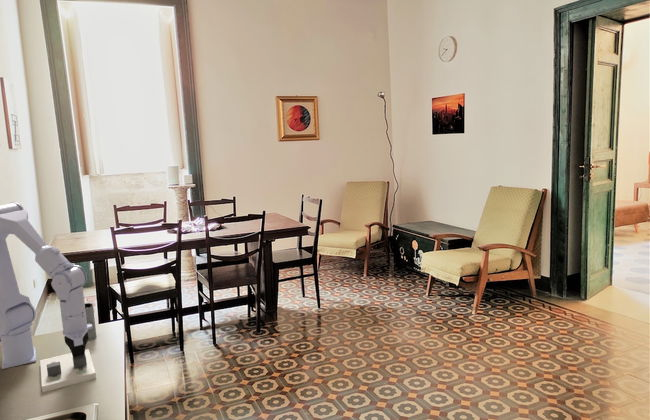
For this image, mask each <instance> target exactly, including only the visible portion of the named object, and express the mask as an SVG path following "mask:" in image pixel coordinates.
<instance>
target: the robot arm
mask: <svg viewBox="0 0 650 420" xmlns="http://www.w3.org/2000/svg"><path fill="white" fill-rule="evenodd" d="M9 235H14V236H15V237H16V238H18V239H19V240H20V242H22V243H23V244H24V245H25V246H26V247H27V248H28V249H29V250H30V251H32V252H33V253H34V256H35V258H34V261H35V262H36V263H37V264H38V266H40V268H41V269H42V270H43V271H44V272H45V273H46V274H47V276H48V277H49V278H50V279H52V281H51V282H50V284H51V287H52V289H53V290H54V292H55V294H56V298H57V300H59V308H60V317H61V324H62V330H61V332H62V335H63V339H64V343H65V344H66V346H67V347H68V349H69V350H70V353H72V355H73V357H75V356H79V355H83V354H85V350H86V347H87V343H88V341H89V340H88V339H89V336H88V332H87V331H88V330H89V329H92V324H87V319H86V311H85V303H86V302H85V296H84V295H85V294H84V285H85V284H86V283H87V280H88V275H87V273H86V271H85V269H84V267H82V266H81V265H78V264H75V263H74V262H70V260H68V259H67V257H65V256H64V254H63V253H62V252H61V251H60V250H59V248H58V247H56V246H55V245H54V246H53V245H49V244H47V243H46V242H45V241H44V239H43V237H42V236H41V235H40V234H39V233H38V231H37V230H36V229H35V228H34V226H33V225H32V224H31V222H30V221H29V214H28V212H27V210H25V209H24V207H23V206H22V205H21V204H20V203H19V202H15V201H12V202H9V203H5V204H0V345H1V351H2V360H1V362H2V363H1V369H3V370H5V369H8V368H12V367H13V368H14V367H17V366H21V365H25V364H26V365H27V364H31V363H33V362H36V361H37V351H36V350H37V348H36V347H35V346H34V345H33V337H32V328H31V327H32V326H33V321H35V320H36V316H37V315H36V309H35V306H34V305H33V303H32V302H31V300H30V297H29V296H27V295H24V294H22V293H20V290H19V285H18V282H17V278H16V274H15V270H14V266H13V263H12V258H11V255H10V252H9V247H8V243H7V238H8V236H9Z"/></svg>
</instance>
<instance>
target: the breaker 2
mask: <svg viewBox="0 0 650 420" xmlns="http://www.w3.org/2000/svg"><path fill="white" fill-rule="evenodd" d="M73 365H74V369H75V368H79V367H83V366H87V362H86V356H85V354H83V355H79V356H75V357H73Z"/></svg>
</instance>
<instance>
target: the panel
mask: <svg viewBox="0 0 650 420" xmlns="http://www.w3.org/2000/svg"><path fill="white" fill-rule="evenodd" d="M89 349H90V348H87V349H86V348H85V356H86V362H87V366H83V367H79V368H75V369H74V365H73V355H72V352H69V353H65V354H61V355H57V356H53V357H49V358H44V359H40V360H39V362H40V363H39V364H40V379H41V390H42V393H45V392H49V391H52V390H56V389H60V388H64V387H68V386H72V385H75V384H80V383H83V382H87V381H90V380H94V379H97V375H96V370H95V366H94V362H93V359H92V356H91V355H92V354H91V353H90V350H89ZM56 362H60V366H61V374H57V375H53V376H49V377H48V373H47V364H52V363H56Z"/></svg>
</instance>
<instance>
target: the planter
mask: <svg viewBox="0 0 650 420" xmlns="http://www.w3.org/2000/svg"><path fill="white" fill-rule="evenodd" d="M94 310H95V309H94V305H93V303H89V302H88V303H87V302H85V311H86V319H87V324H92V329H89V330H88V331H87V332H88V336H89V339H88V341H90V340H93V339H96V337H97V329H96V320H95V313H94Z"/></svg>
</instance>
